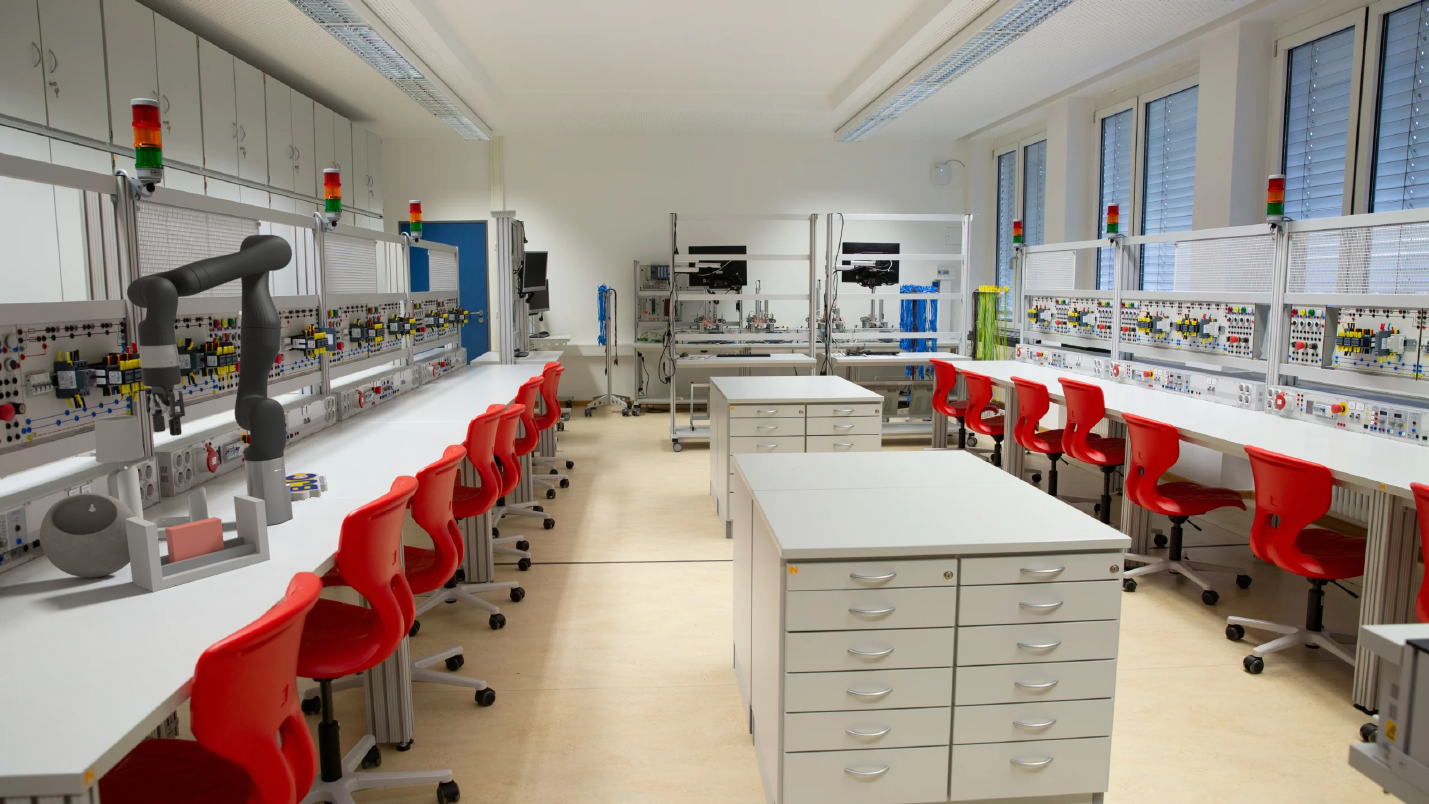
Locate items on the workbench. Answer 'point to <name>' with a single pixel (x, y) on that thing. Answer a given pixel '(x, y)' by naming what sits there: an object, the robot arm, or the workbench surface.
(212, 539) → the red rectangular block
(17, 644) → the workbench surface
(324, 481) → the sign
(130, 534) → the u-shaped grey holder
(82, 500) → the planter
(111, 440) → the wall lamp
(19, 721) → the workbench surface
